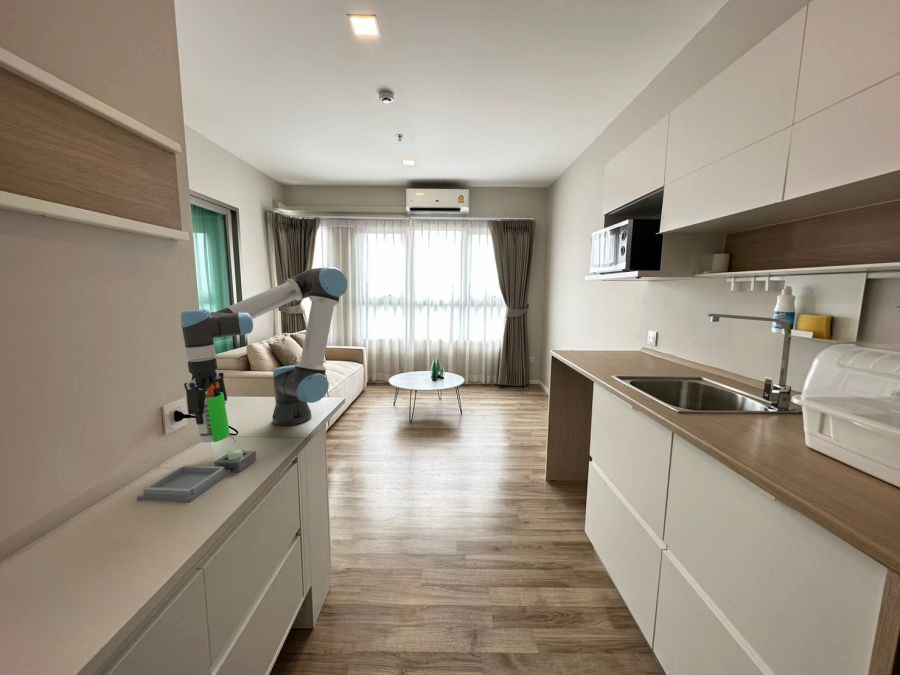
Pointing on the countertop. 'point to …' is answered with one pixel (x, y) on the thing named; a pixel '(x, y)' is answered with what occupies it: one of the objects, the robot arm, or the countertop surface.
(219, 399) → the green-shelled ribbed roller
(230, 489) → the countertop surface
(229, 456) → the button
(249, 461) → the dark grey square holder
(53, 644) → the countertop surface
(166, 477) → the grey square tray
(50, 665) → the countertop surface
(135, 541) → the countertop surface
